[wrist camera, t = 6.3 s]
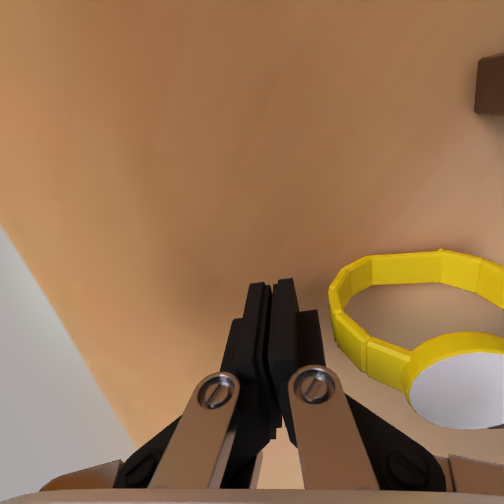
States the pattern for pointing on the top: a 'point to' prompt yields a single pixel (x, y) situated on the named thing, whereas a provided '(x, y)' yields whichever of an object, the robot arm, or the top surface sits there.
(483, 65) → the bay
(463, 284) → the watch
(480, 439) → the top surface
